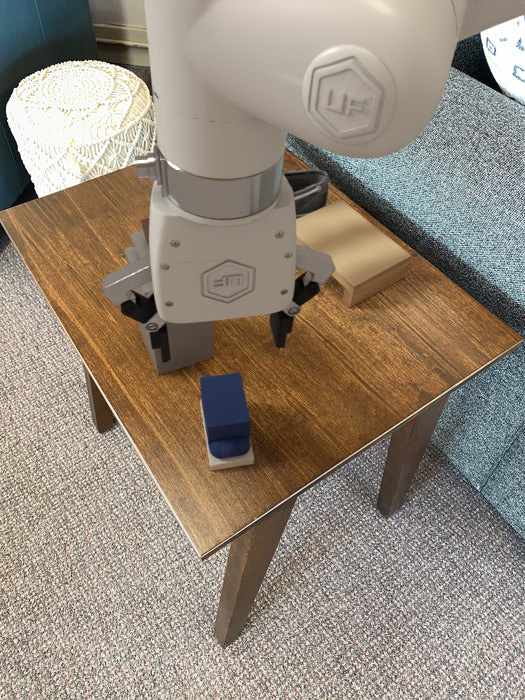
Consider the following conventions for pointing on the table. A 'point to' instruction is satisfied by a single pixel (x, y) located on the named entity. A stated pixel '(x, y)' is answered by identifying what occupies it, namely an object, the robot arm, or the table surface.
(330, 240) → the shoe shelf
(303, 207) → the boat shoe
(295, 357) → the table surface
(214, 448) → the high-top sneaker
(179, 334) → the perfume bottle
